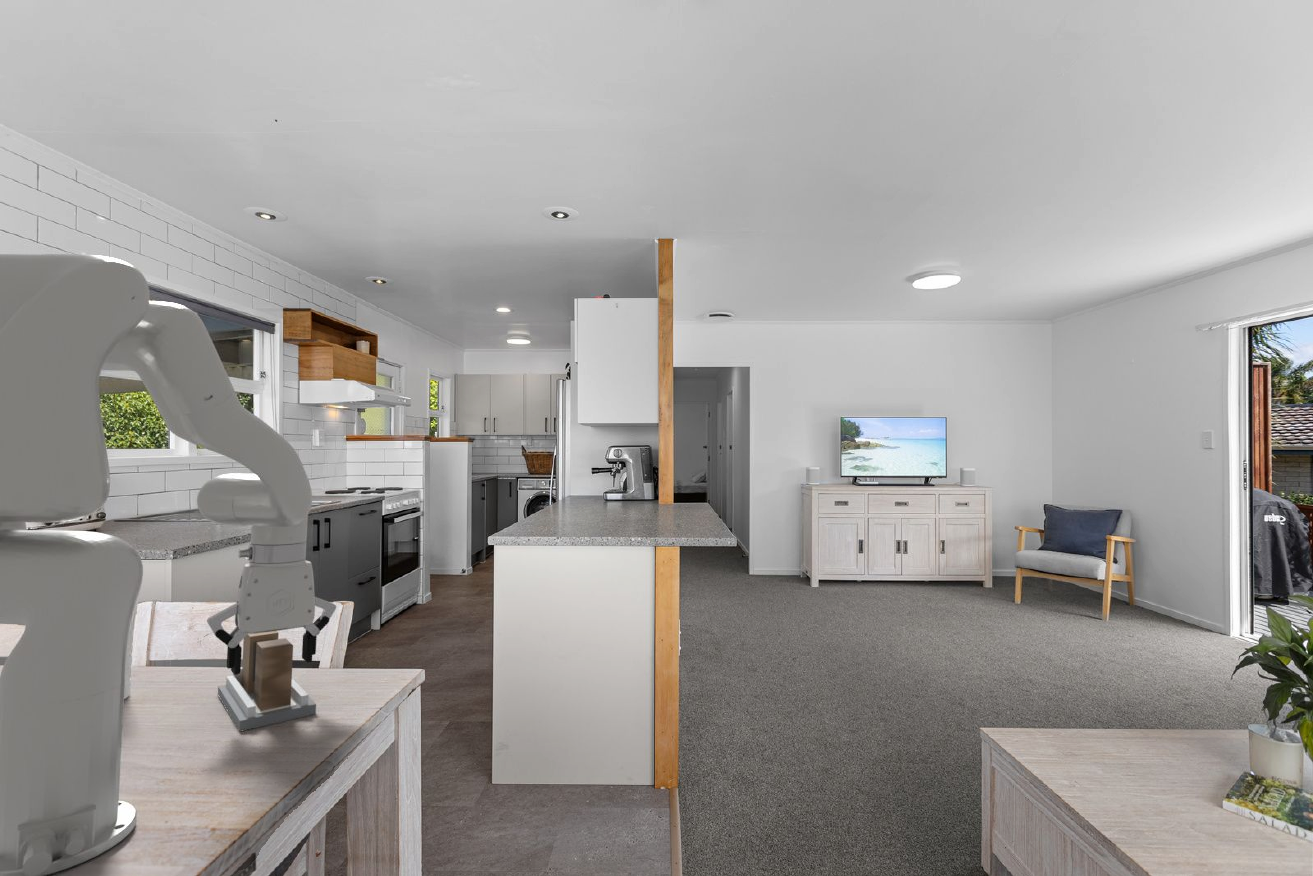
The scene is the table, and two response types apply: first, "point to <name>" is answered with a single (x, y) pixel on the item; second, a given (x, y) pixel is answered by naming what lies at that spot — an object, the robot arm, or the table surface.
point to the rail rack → (241, 692)
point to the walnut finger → (273, 674)
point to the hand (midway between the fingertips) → (272, 666)
